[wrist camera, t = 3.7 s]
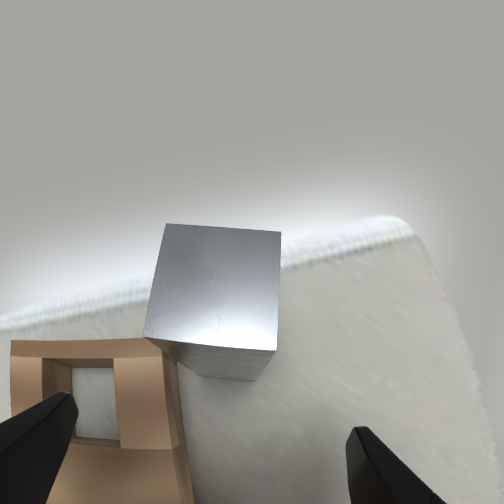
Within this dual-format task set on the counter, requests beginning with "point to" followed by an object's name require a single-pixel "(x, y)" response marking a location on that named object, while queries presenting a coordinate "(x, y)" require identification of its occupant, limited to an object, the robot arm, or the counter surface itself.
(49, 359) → the socket block
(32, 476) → the robot arm
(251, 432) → the counter surface
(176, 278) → the square bit
